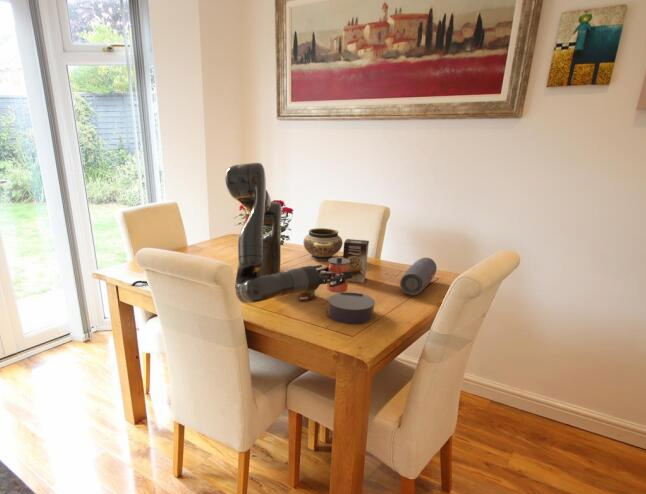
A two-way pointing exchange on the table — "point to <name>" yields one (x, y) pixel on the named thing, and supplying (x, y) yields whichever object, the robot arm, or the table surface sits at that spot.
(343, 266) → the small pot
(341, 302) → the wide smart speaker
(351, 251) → the coffee box
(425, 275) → the bluetooth speaker
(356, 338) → the table surface
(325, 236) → the ceramic bowl
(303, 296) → the food container
